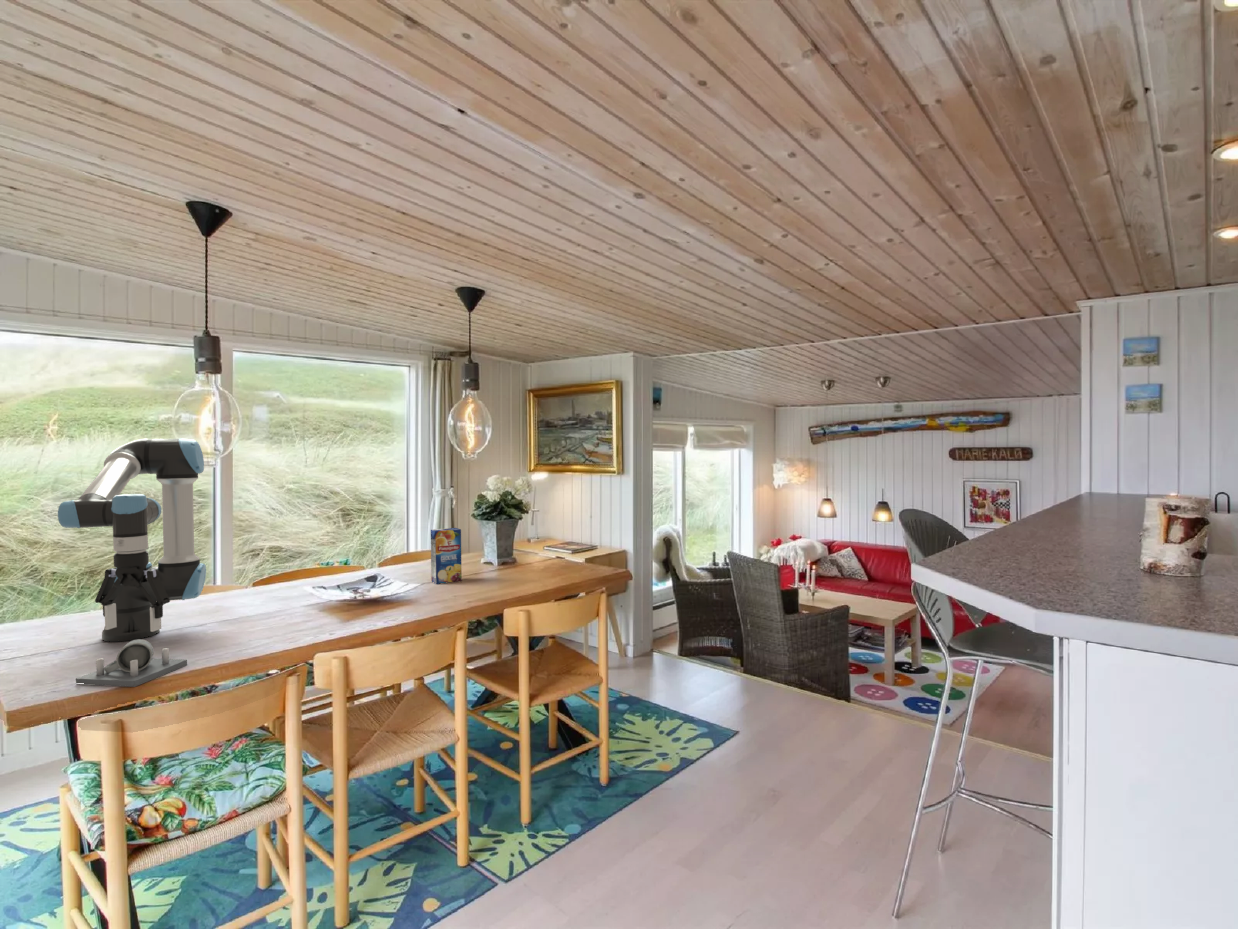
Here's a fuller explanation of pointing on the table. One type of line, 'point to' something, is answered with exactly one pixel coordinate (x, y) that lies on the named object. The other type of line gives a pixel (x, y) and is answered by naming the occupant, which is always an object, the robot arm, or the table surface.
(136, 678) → the pin plate
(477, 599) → the table surface
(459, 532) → the juice carton
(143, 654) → the ceramic mug
